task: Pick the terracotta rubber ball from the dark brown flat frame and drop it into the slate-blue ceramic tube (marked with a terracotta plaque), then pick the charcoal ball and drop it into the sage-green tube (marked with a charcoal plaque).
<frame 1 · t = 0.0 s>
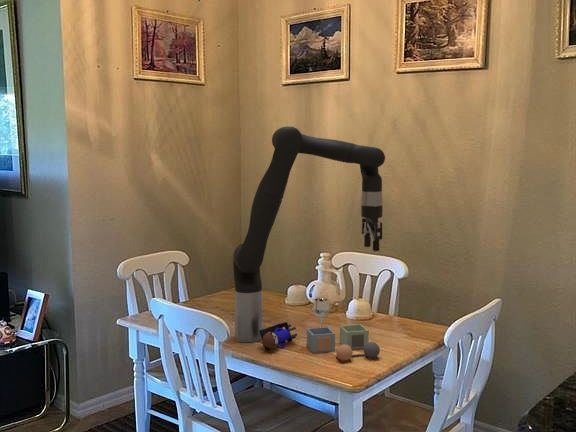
hand: (371, 248, 217), 29 cm above the table, fingers open, 8 cm apart
ball charcoal: (371, 350, 189), point 3 cm above the table, touching dark brown flat frame
character figurine: (278, 347, 201), on the table
cup blue: (320, 348, 199), on the table
dark brown flat frame: (358, 359, 189), on the table
cup green: (353, 345, 202), on the table
wineglass: (321, 332, 216), on the table
ball terracotta: (344, 352, 187), point 3 cm above the table, touching dark brown flat frame
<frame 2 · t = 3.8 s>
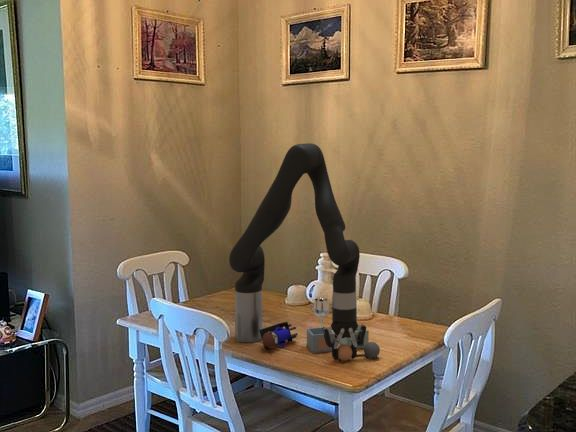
hand: (344, 358, 188), 1 cm above the table, fingers closed on ball terracotta, 5 cm apart
ball terracotta: (344, 352, 187), point 3 cm above the table, touching gripper, dark brown flat frame
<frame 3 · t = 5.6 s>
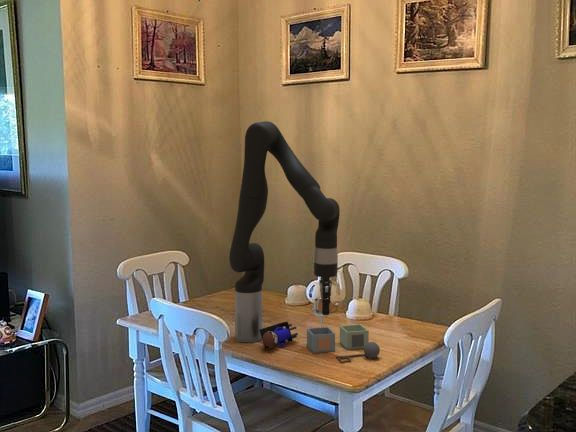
hand: (325, 311, 196), 13 cm above the table, fingers closed on ball terracotta, 5 cm apart
ball terracotta: (325, 306, 196), point 15 cm above the table, touching gripper
everything else where it was.
when the fingers open (8 cm above the table, at t = 7.2 s): ball terracotta drops 7 cm, resting on cup blue.
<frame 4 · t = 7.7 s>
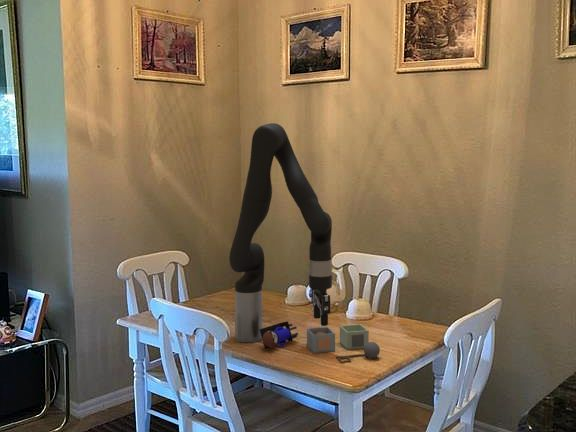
hand: (320, 321, 198), 9 cm above the table, fingers open, 8 cm apart
ball terracotta: (320, 339, 199), point 3 cm above the table, touching cup blue
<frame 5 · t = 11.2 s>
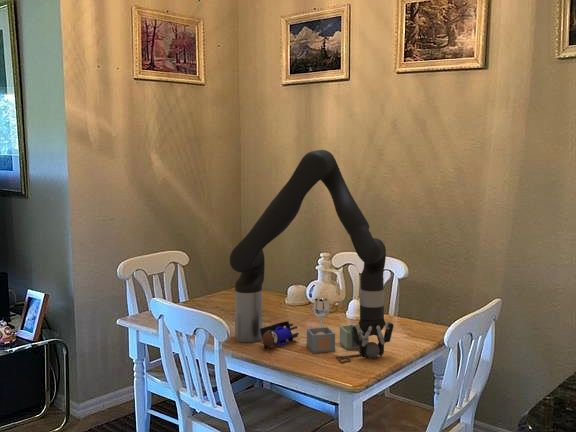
hand: (371, 355, 190), 1 cm above the table, fingers closed on ball charcoal, 5 cm apart
ball charcoal: (371, 350, 189), point 3 cm above the table, touching gripper, dark brown flat frame
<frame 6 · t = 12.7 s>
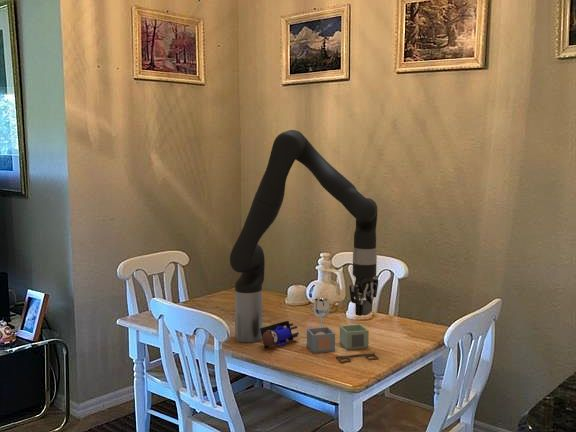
hand: (363, 313, 194), 13 cm above the table, fingers closed on ball charcoal, 5 cm apart
ball charcoal: (363, 307, 194), point 15 cm above the table, touching gripper
when the fingers open (8 cm above the table, at t = 14.4 s): ball charcoal drops 7 cm, resting on cup green.
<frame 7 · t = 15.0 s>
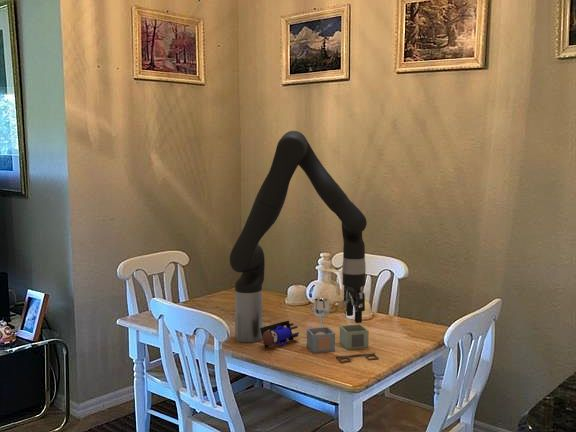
hand: (353, 319, 200), 9 cm above the table, fingers open, 8 cm apart
ball charcoal: (353, 336, 201), point 3 cm above the table, touching cup green
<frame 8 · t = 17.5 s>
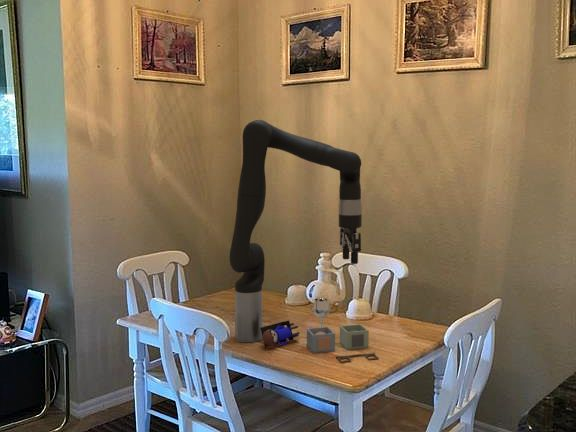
hand: (350, 261, 200), 28 cm above the table, fingers open, 8 cm apart
at the end: ball terracotta 0.3 cm off-centre on the cup blue, point 3.0 cm above the cup blue's base; ball charcoal 0.1 cm off-centre on the cup green, point 3.0 cm above the cup green's base; the gripper is holding nothing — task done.
